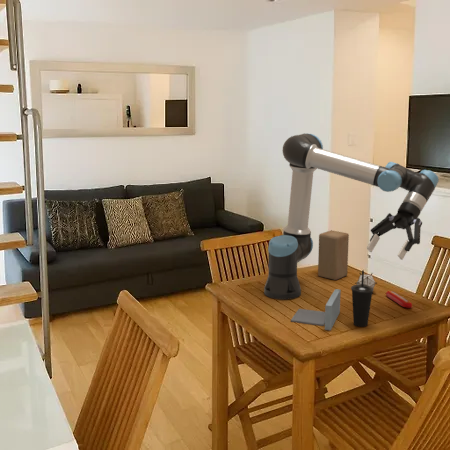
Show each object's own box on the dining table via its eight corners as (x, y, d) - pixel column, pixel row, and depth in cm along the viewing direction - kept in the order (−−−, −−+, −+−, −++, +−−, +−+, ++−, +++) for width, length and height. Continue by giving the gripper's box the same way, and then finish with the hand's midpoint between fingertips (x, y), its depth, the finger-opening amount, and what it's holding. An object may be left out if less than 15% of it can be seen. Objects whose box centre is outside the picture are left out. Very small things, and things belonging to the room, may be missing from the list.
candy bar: (413, 309, 213) (414, 302, 213) (404, 310, 212) (405, 303, 212) (392, 295, 229) (392, 288, 228) (384, 296, 228) (384, 289, 227)
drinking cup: (367, 330, 194) (370, 275, 190) (346, 325, 198) (348, 271, 194) (374, 322, 200) (377, 269, 196) (353, 318, 204) (356, 266, 200)
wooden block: (348, 275, 254) (349, 232, 249) (336, 281, 247) (337, 237, 242) (329, 271, 260) (330, 229, 256) (317, 276, 253) (318, 233, 249)
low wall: (324, 329, 195) (325, 305, 193) (334, 311, 211) (335, 289, 209) (330, 330, 194) (331, 306, 192) (339, 312, 211) (340, 289, 209)
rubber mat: (290, 321, 202) (290, 320, 202) (298, 310, 213) (298, 308, 213) (323, 326, 198) (323, 324, 198) (330, 314, 209) (330, 312, 209)
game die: (367, 299, 234) (380, 279, 235) (370, 299, 226) (383, 278, 227) (349, 287, 236) (361, 267, 236) (351, 287, 227) (364, 266, 228)
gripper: (445, 218, 198) (418, 266, 193) (388, 208, 218) (361, 252, 213) (437, 205, 194) (409, 254, 189) (379, 197, 214) (352, 241, 209)
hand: (383, 253), depth 201 cm, fingers open, 13 cm apart
